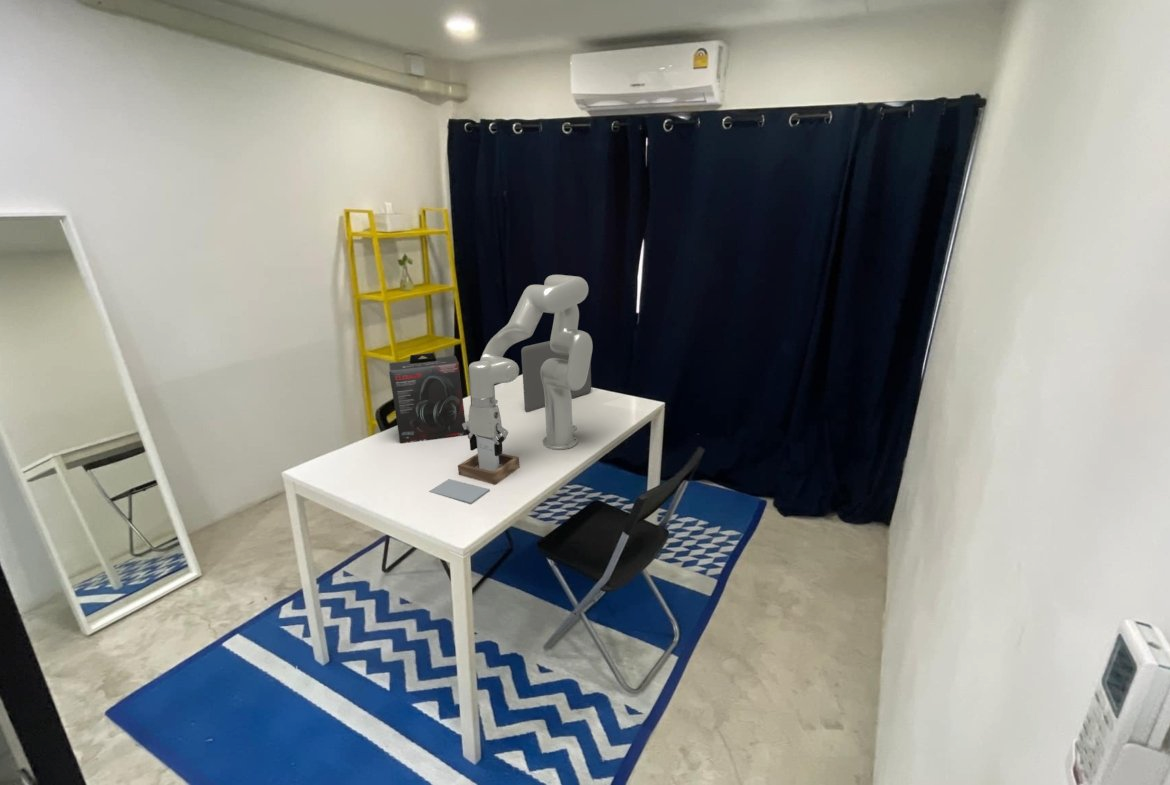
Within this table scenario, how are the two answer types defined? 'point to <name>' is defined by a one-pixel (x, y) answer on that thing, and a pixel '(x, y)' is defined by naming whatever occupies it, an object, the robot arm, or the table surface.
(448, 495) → the mat
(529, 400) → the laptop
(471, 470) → the wooden square frame
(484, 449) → the hard drive
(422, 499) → the table surface
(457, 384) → the headset box
